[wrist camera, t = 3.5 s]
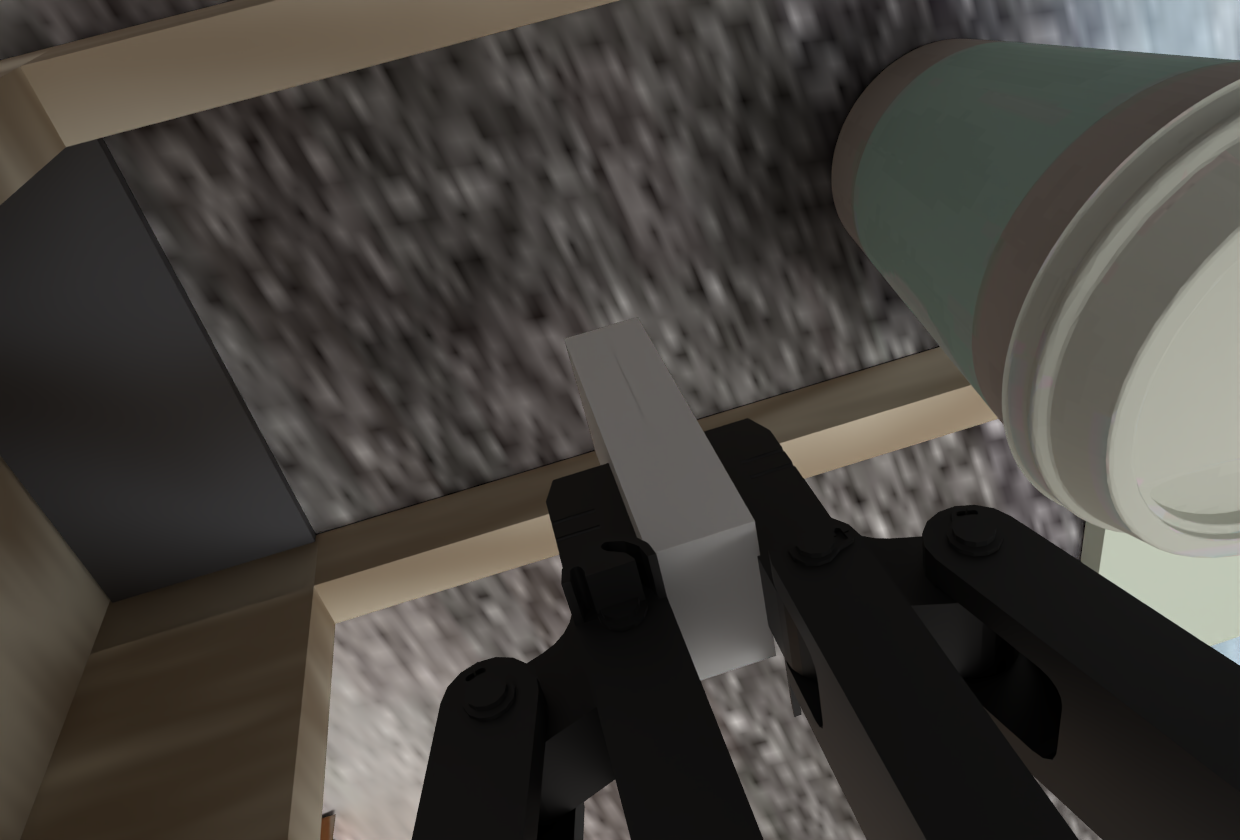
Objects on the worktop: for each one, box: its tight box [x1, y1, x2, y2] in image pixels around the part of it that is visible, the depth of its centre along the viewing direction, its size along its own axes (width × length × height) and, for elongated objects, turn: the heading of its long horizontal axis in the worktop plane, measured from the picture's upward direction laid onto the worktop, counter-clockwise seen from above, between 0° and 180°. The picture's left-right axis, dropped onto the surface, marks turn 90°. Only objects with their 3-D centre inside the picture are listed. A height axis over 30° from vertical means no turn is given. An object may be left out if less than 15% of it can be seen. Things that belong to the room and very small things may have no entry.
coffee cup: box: [831, 39, 1240, 558], centre depth 18 cm, size 9×8×12 cm
